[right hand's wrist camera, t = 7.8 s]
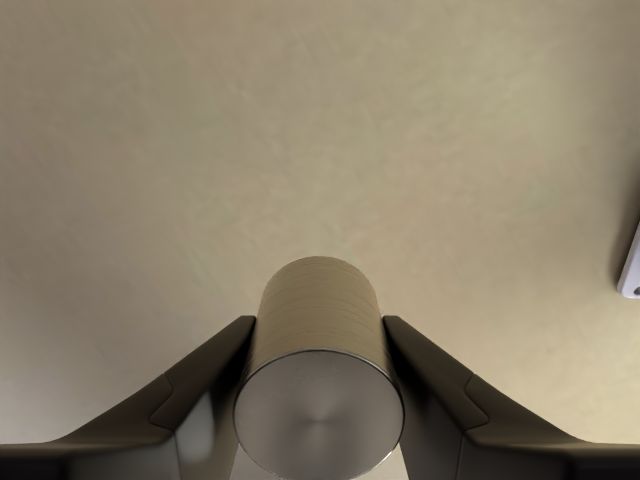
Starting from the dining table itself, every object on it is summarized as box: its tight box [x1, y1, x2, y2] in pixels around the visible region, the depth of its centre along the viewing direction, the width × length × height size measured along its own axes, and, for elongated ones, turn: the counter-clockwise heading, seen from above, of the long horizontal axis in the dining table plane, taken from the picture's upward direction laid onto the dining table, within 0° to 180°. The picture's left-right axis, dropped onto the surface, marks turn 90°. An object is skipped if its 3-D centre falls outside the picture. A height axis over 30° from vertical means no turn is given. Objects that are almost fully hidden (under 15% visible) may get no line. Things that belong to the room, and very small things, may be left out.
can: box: [232, 256, 405, 480], centre depth 10 cm, size 4×4×4 cm
